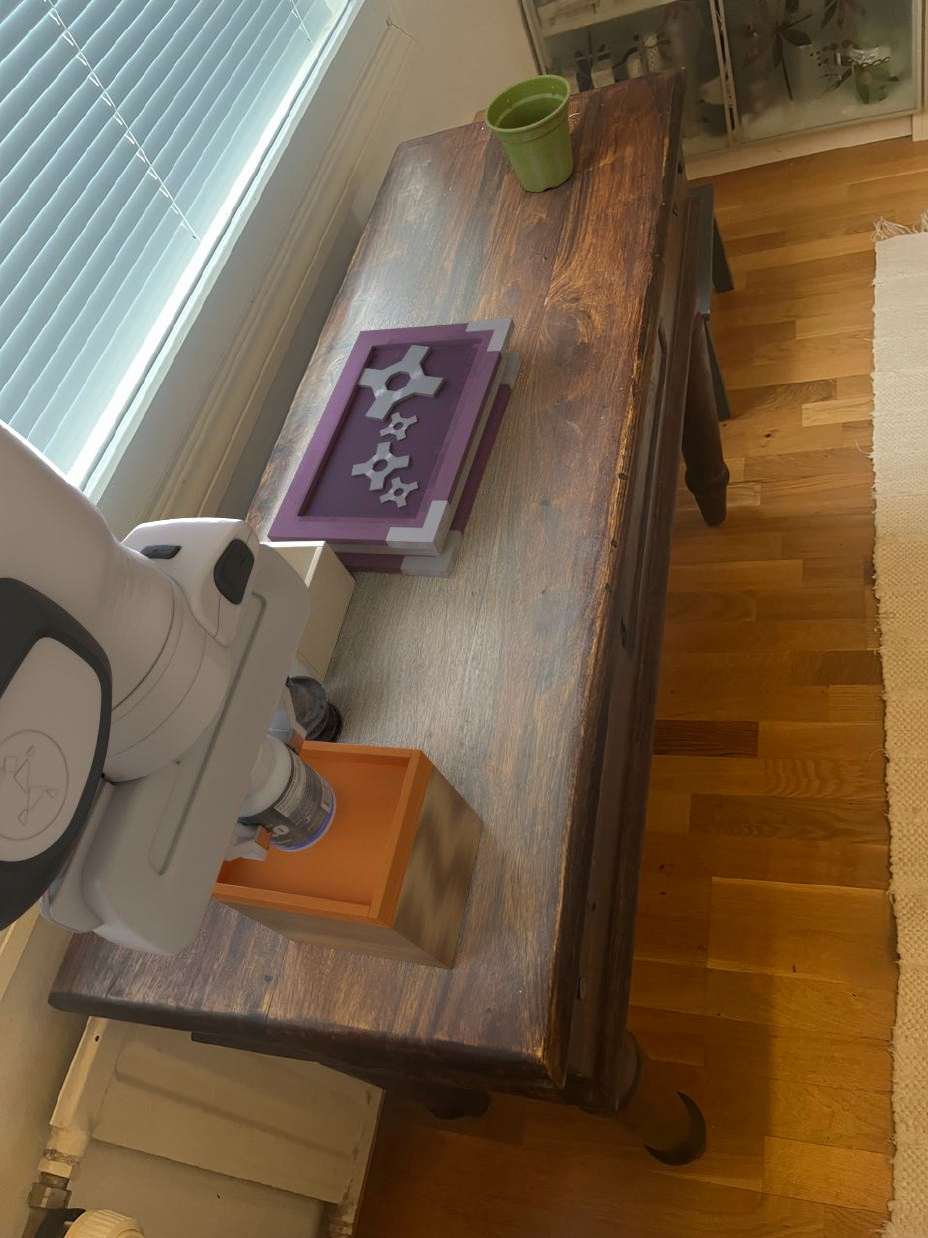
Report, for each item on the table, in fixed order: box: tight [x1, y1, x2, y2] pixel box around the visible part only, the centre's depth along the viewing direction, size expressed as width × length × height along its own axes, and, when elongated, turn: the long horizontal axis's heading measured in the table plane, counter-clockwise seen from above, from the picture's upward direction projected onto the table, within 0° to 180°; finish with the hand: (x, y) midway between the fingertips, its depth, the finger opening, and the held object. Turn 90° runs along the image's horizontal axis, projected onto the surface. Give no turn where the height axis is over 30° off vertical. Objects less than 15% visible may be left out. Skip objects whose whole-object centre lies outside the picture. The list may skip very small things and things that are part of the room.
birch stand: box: [217, 763, 484, 971], centre depth 61 cm, size 10×12×10 cm
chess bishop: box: [285, 675, 344, 743], centre depth 69 cm, size 6×6×12 cm
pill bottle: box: [237, 735, 336, 852], centre depth 51 cm, size 5×5×8 cm
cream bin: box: [259, 541, 357, 686], centre depth 78 cm, size 10×10×6 cm
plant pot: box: [483, 74, 574, 193], centre depth 101 cm, size 9×9×9 cm
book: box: [266, 317, 524, 578], centre depth 84 cm, size 25×16×5 cm, turn 163°
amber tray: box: [211, 741, 434, 928], centre depth 56 cm, size 10×12×2 cm
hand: (276, 793), depth 52 cm, fingers closed on pill bottle, 5 cm apart
